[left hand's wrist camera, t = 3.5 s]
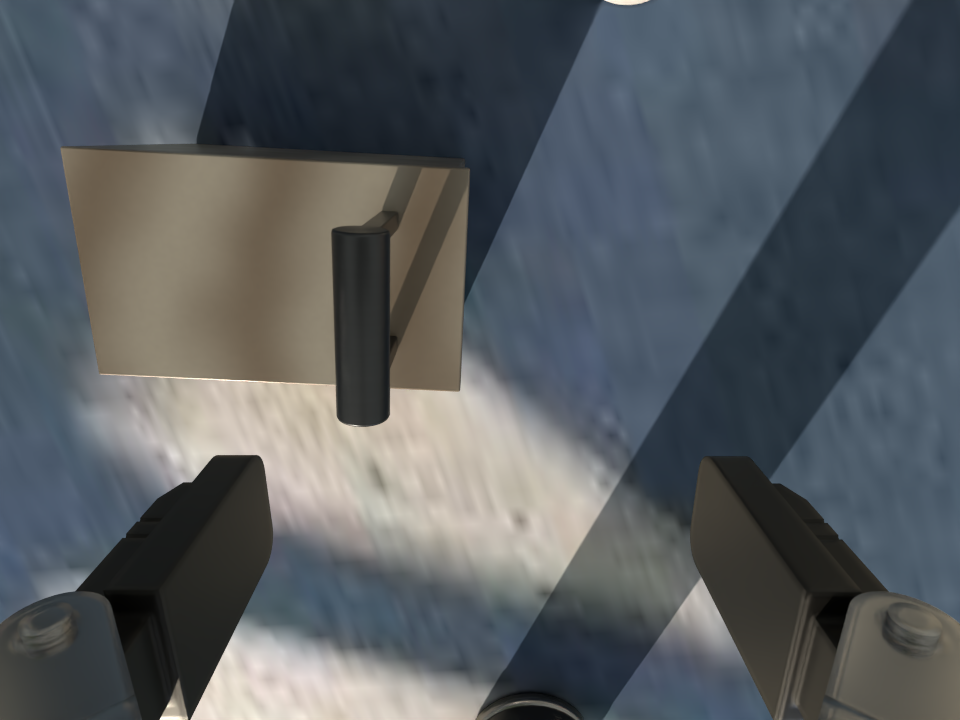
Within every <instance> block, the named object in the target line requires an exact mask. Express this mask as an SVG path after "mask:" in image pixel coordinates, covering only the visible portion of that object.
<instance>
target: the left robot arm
mask: <svg viewBox="0 0 960 720" xmlns="http://www.w3.org/2000/svg"><path fill="white" fill-rule="evenodd" d="M690 542H691V550H692V555H693V559H694V562H695V564H696V567H697V569H698V571H699V573H700V575H701V577H702V579H703V581H704V583H705V585H706V587H707V589H708V591H709V593H710V595H711V597H712V599H713V601H714V603H715V605H716V607H717V609H718V610H719V612H720V614H721V616H722V618H723V620H724V622H725V624H726V626H727V628H728V630H729V632H730V634H731V636H732V638H733V640H734V642H735V644H736V646H737V648H738V650H739V652H740V654H741V656H742V658H743V660H744V662H745V664H746V666H747V668H748V670H749V672H750V674H751V676H752V678H753V680H754V682H755V684H756V686H757V688H758V690H759V692H760V694H761V696H762V698H763V700H764V702H765V704H766V706H767V708H768V710H769V712H770V714H771V716H772V718H773V720H960V624H959V623H958V622H957V621H956V620H954V619H953V618H952V617H950V616H949V615H947V614H946V613H944V612H942V611H941V610H939V609H937V608H935V607H933V606H931V605H929V604H927V603H925V602H923V601H920V600H918V599H915V598H912V597H909V596H906V595H902V594H897V593H892V592H889V591H888V590H887V589H886V588H885V587H884V586H883V585H882V584H881V583H880V581H879V580H878V579H877V578H876V577H875V576H874V575H873V574H872V572H871V571H870V570H869V569H868V568H867V567H866V566H865V565H864V564H863V562H862V561H861V560H860V559H859V558H858V557H857V556H856V555H855V553H854V552H853V551H852V550H851V549H850V548H849V547H848V546H847V545H846V543H845V542H844V541H843V540H839V538H838V534H837V533H836V532H835V531H834V530H833V529H832V528H831V527H830V526H829V524H828V523H824V519H823V518H822V517H821V515H820V514H819V513H818V512H817V511H816V510H815V509H814V508H813V507H812V505H811V504H810V503H809V502H808V501H807V500H806V499H804V498H803V497H801V496H799V495H798V494H796V493H795V492H793V491H791V490H790V489H788V488H787V487H785V486H783V485H782V484H772V483H771V482H770V481H769V480H768V478H767V477H766V476H765V475H764V474H763V472H762V471H761V470H760V469H759V468H758V466H757V465H756V464H755V463H754V462H753V460H752V459H751V458H749V457H747V456H706V457H704V458H703V459H702V461H701V463H700V466H699V472H698V479H697V486H696V493H695V500H694V507H693V514H692V522H691V529H690ZM272 543H273V527H272V519H271V512H270V505H269V497H268V490H267V483H266V476H265V469H264V464H263V461H262V459H261V457H260V456H258V455H216V456H214V457H213V458H212V459H211V460H210V461H209V463H208V464H207V465H206V466H205V467H204V469H203V470H202V471H201V472H200V473H199V475H198V476H197V477H196V478H195V480H194V481H193V482H183V483H182V484H180V485H179V486H177V487H175V488H174V489H172V490H171V491H169V492H167V493H166V494H164V495H163V496H161V497H159V498H158V499H157V500H156V501H155V502H154V503H153V504H152V505H151V507H150V508H149V509H148V510H147V511H146V512H145V513H144V514H143V516H142V517H141V518H140V522H136V523H135V525H134V526H133V527H132V528H131V529H130V530H129V531H128V532H127V534H126V538H122V539H121V540H120V541H119V543H118V544H117V545H116V546H115V547H114V548H113V549H112V551H111V552H110V553H109V554H108V555H107V556H106V557H105V558H104V560H103V561H102V562H101V563H100V564H99V565H98V566H97V567H96V569H95V570H94V571H93V572H92V573H91V574H90V575H89V576H88V578H87V579H86V580H85V581H84V582H83V583H82V584H81V585H80V587H79V588H78V589H77V590H76V591H75V592H68V593H63V594H58V595H54V596H51V597H48V598H45V599H42V600H40V601H37V602H35V603H33V604H31V605H29V606H27V607H25V608H23V609H21V610H19V611H18V612H16V613H14V614H13V615H11V616H10V617H8V618H7V619H6V620H4V621H3V622H2V623H1V624H0V720H190V719H191V717H192V715H193V713H194V711H195V709H196V707H197V705H198V703H199V701H200V699H201V697H202V695H203V693H204V691H205V689H206V687H207V685H208V683H209V681H210V679H211V677H212V675H213V673H214V671H215V669H216V667H217V665H218V663H219V661H220V659H221V657H222V655H223V653H224V651H225V649H226V647H227V645H228V643H229V641H230V639H231V637H232V635H233V632H234V630H235V628H236V626H237V624H238V622H239V620H240V618H241V616H242V614H243V612H244V610H245V608H246V606H247V604H248V602H249V600H250V598H251V596H252V594H253V592H254V590H255V588H256V586H257V584H258V582H259V580H260V578H261V576H262V574H263V572H264V570H265V568H266V566H267V564H268V561H269V558H270V555H271V550H272ZM476 720H584V719H583V717H582V716H581V715H580V713H579V712H578V711H577V710H576V709H575V708H574V707H572V706H571V705H570V704H568V703H567V702H565V701H563V700H561V699H558V698H556V697H552V696H549V695H544V694H535V693H526V694H517V695H512V696H509V697H505V698H503V699H500V700H498V701H496V702H494V703H492V704H491V705H489V706H488V707H487V708H485V709H484V710H483V711H482V712H481V713H480V714H479V716H478V717H477V718H476Z"/></svg>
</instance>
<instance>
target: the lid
mask: <svg viewBox="0 0 960 720" xmlns="http://www.w3.org/2000/svg"><path fill="white" fill-rule="evenodd" d="M61 153H62V159H63V165H64V171H65V177H66V182H67V188H68V194H69V200H70V206H71V212H72V217H73V223H74V229H75V235H76V241H77V246H78V252H79V258H80V264H81V270H82V276H83V281H84V287H85V293H86V299H87V305H88V311H89V316H90V322H91V328H92V334H93V340H94V345H95V351H96V357H97V363H98V369H99V374H104V375H125V376H145V377H166V378H187V379H207V380H228V381H249V382H270V383H290V384H311V385H332V386H336V409H337V418H338V419H339V421H340V422H342V423H344V424H346V425H350V426H356V427H367V426H374V425H378V424H380V423H383V422H384V421H386V420H387V419H388V417H389V415H390V388H394V389H415V390H435V391H456V392H459V391H460V383H461V362H462V340H463V317H464V295H465V273H466V251H467V228H468V206H469V184H470V168H466V167H447V166H429V165H411V164H393V163H375V162H357V161H338V160H320V159H302V158H284V157H266V156H248V155H229V154H211V153H193V152H175V151H157V150H139V149H120V148H102V147H84V146H62V147H61Z"/></svg>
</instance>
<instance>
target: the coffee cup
mask: <svg viewBox="0 0 960 720" xmlns="http://www.w3.org/2000/svg"><path fill="white" fill-rule="evenodd" d="M605 1H608V2H611V3H615V4H621V5H633V4H639V3H643V2H646V1H649V0H605Z"/></svg>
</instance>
